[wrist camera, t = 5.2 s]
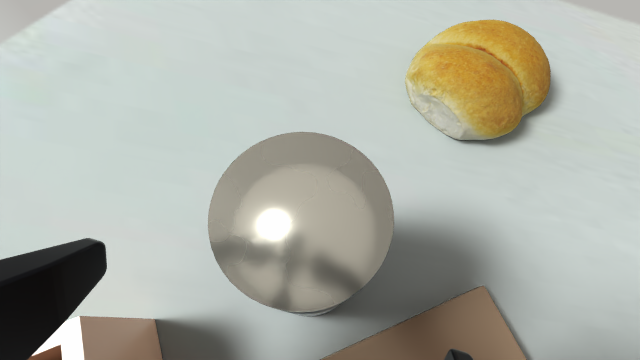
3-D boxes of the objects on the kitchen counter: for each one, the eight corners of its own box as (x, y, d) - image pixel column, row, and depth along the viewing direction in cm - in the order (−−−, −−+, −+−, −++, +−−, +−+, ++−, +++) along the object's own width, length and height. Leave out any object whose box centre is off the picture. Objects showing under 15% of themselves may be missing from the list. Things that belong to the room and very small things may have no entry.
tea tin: (281, 333, 17) (241, 347, 8) (249, 240, 19) (186, 167, 10) (372, 291, 18) (428, 262, 9) (333, 206, 20) (346, 110, 11)
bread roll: (555, 90, 24) (598, 46, 20) (474, 166, 21) (506, 133, 18) (462, 24, 26) (485, -24, 23) (381, 87, 24) (392, 44, 20)
